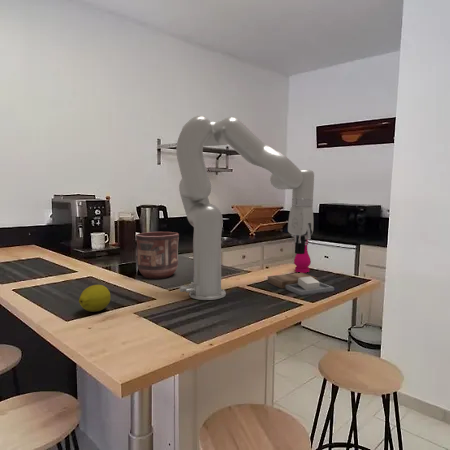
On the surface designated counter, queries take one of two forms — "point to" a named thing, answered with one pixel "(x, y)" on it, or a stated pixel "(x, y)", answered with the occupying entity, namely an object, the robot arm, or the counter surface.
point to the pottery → (157, 254)
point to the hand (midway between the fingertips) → (299, 253)
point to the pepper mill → (302, 261)
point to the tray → (302, 292)
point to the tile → (308, 283)
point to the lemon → (95, 298)
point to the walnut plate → (286, 279)
